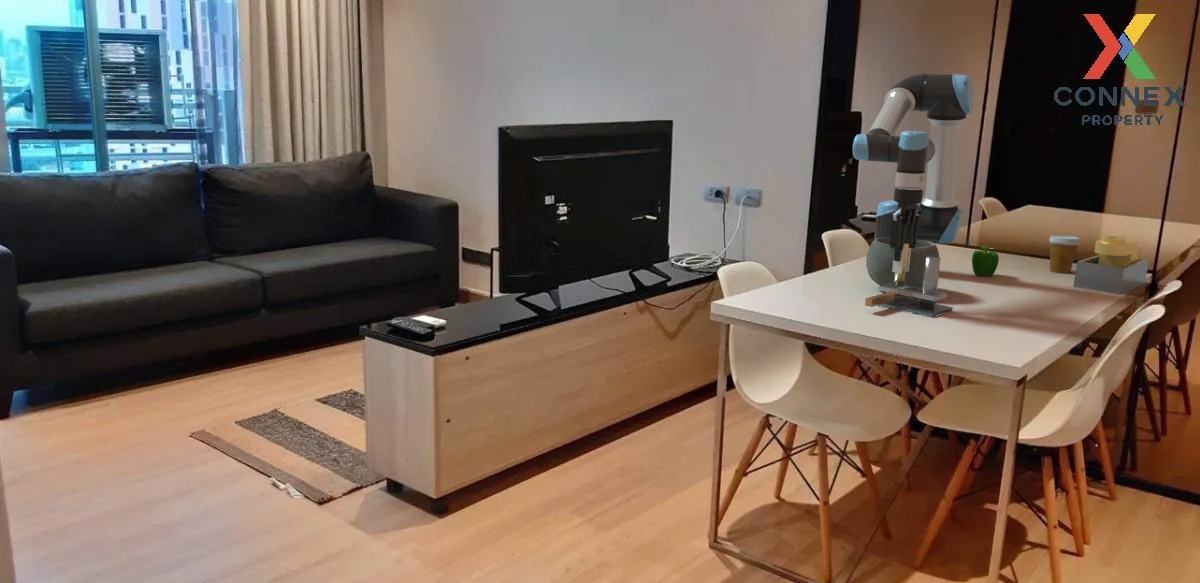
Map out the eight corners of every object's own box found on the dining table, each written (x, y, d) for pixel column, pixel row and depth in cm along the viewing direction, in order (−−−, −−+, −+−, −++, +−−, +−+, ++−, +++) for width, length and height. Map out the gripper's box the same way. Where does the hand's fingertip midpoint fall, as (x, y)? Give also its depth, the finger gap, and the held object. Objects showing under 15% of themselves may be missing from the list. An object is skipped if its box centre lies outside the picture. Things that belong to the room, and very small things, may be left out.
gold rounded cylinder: (891, 285, 262) (895, 243, 259) (896, 283, 264) (901, 242, 262) (901, 286, 260) (905, 244, 257) (906, 285, 262) (910, 243, 259)
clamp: (1116, 292, 288) (1124, 241, 285) (1084, 286, 295) (1092, 237, 291) (1137, 283, 302) (1145, 235, 298) (1106, 278, 308) (1114, 231, 305)
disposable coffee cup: (1081, 272, 317) (1086, 238, 314) (1065, 275, 311) (1070, 240, 309) (1054, 267, 324) (1059, 233, 322) (1039, 270, 319) (1043, 235, 316)
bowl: (860, 293, 276) (865, 244, 273) (866, 280, 295) (870, 233, 292) (935, 301, 269) (941, 250, 266) (936, 287, 288) (942, 239, 285)
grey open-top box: (1073, 286, 294) (1077, 261, 293) (1100, 276, 311) (1103, 253, 309) (1120, 294, 285) (1124, 268, 283) (1145, 284, 301) (1149, 259, 299)
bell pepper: (984, 272, 313) (987, 243, 311) (1001, 277, 305) (1005, 247, 303) (963, 273, 310) (967, 243, 308) (980, 278, 303) (984, 248, 300)
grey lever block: (854, 310, 255) (859, 256, 252) (894, 298, 270) (900, 248, 267) (913, 323, 243) (919, 267, 240) (952, 310, 258) (958, 257, 255)
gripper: (907, 191, 248) (898, 277, 253) (935, 187, 259) (926, 270, 264) (881, 188, 253) (873, 272, 258) (910, 185, 264) (902, 266, 269)
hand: (900, 271), depth 261 cm, fingers closed on gold rounded cylinder, 3 cm apart
